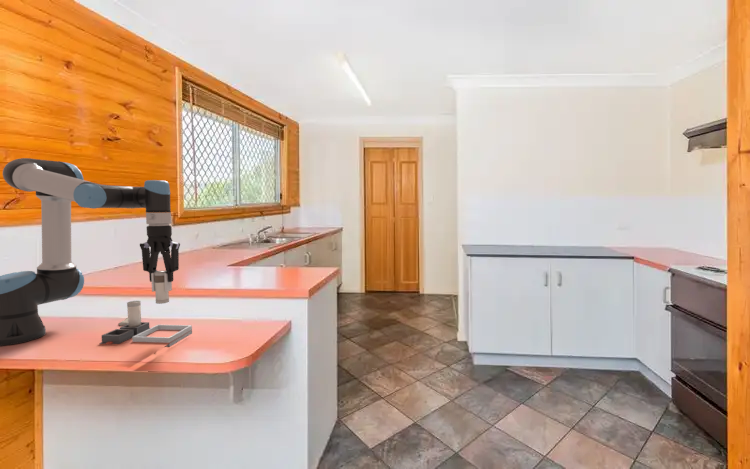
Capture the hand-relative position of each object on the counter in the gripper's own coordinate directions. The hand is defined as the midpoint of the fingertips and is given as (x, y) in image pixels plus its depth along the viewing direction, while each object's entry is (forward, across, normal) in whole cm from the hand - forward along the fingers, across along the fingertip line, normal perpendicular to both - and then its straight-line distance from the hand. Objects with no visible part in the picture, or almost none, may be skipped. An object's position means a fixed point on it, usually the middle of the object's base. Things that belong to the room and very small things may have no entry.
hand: (162, 290), depth 127 cm
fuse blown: (+4, 0, 0) cm, 4 cm away
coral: (+18, -25, +14) cm, 34 cm away
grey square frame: (+18, 0, 0) cm, 18 cm away
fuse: (+16, -13, +3) cm, 21 cm away
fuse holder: (+18, -13, -1) cm, 22 cm away
